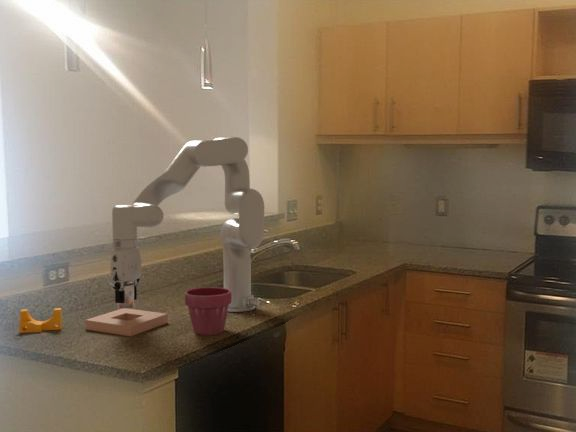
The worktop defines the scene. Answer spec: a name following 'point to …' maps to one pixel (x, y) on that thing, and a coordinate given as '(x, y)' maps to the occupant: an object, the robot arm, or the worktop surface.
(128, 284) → the piston
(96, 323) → the pink square holed slab
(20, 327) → the pipe clamp
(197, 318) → the plant pot
